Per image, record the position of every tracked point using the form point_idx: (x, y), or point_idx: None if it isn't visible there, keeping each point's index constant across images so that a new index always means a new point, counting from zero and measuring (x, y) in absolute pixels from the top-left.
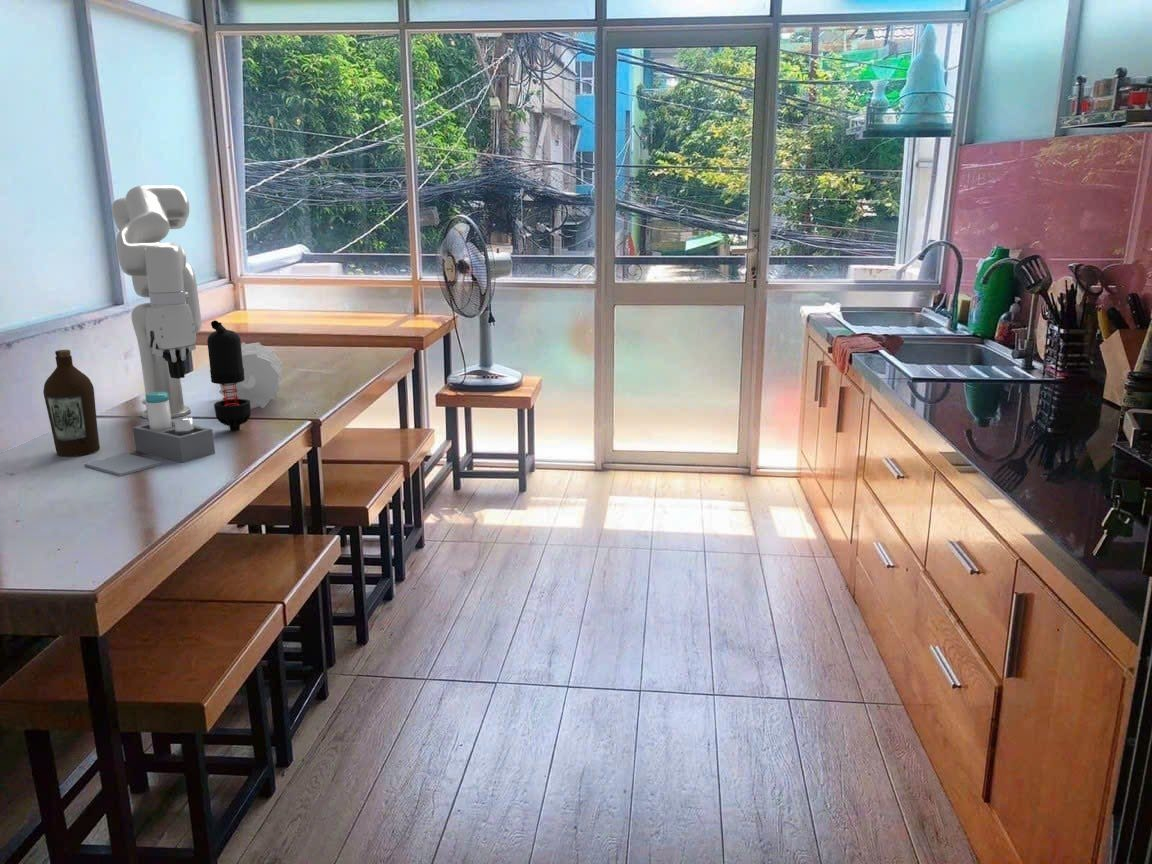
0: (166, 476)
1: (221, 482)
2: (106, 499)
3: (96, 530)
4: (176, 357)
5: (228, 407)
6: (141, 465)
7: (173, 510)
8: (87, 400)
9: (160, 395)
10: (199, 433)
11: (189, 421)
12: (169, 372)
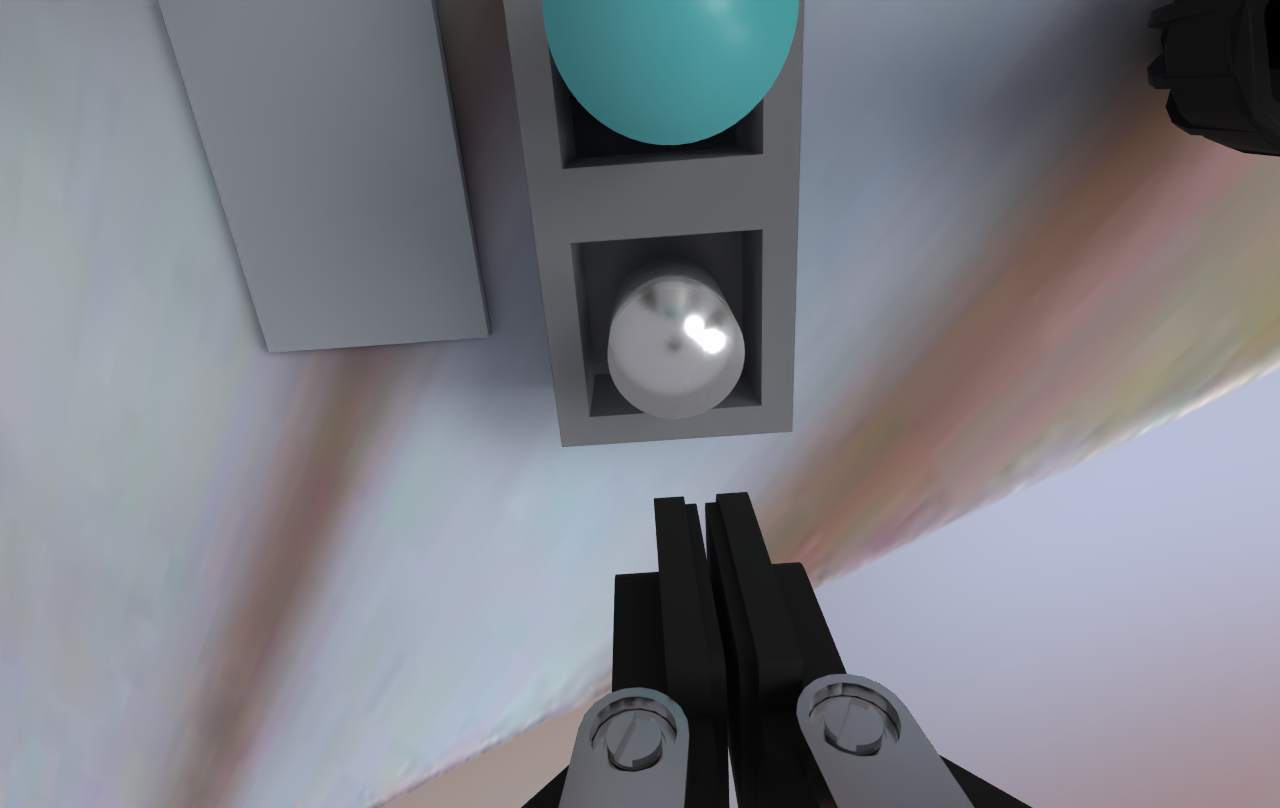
0: (425, 505)
1: (533, 701)
2: (143, 570)
3: (57, 771)
4: (790, 804)
5: (1241, 111)
6: (394, 313)
7: (294, 789)
8: None
9: (657, 120)
10: (698, 436)
11: (684, 413)
12: (617, 587)
